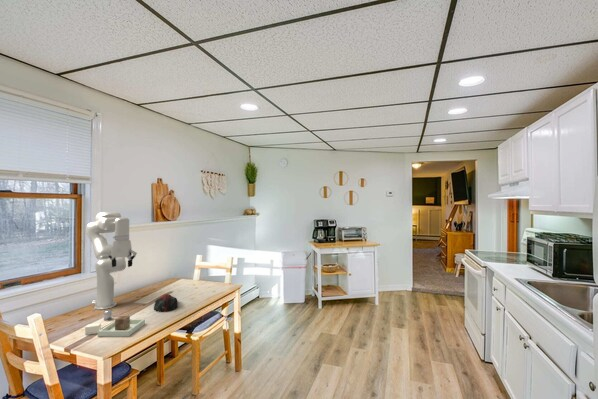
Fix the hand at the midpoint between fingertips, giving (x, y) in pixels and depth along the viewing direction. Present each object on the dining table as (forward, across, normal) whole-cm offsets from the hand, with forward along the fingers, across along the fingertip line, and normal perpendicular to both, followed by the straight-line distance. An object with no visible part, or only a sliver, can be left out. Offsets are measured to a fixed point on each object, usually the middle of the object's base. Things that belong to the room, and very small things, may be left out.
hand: (122, 266), depth 180 cm
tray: (+30, +12, -19) cm, 38 cm away
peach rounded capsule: (+30, +6, -7) cm, 32 cm away
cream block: (+31, -2, -22) cm, 38 cm away
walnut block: (+30, +12, -19) cm, 37 cm away
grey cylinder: (+30, -6, -4) cm, 31 cm away
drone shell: (+31, +19, +19) cm, 41 cm away
